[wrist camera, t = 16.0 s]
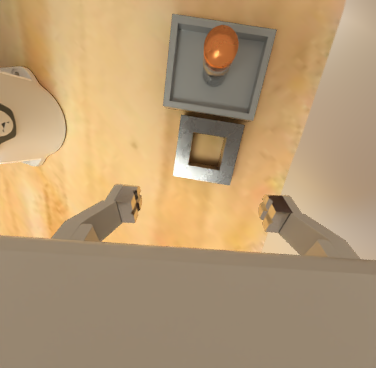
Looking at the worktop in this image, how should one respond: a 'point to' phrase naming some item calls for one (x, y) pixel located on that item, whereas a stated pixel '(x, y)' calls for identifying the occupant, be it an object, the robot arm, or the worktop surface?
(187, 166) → the receiver
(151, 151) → the worktop surface
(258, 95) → the tray
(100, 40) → the worktop surface
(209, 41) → the pin
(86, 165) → the worktop surface
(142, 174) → the worktop surface
